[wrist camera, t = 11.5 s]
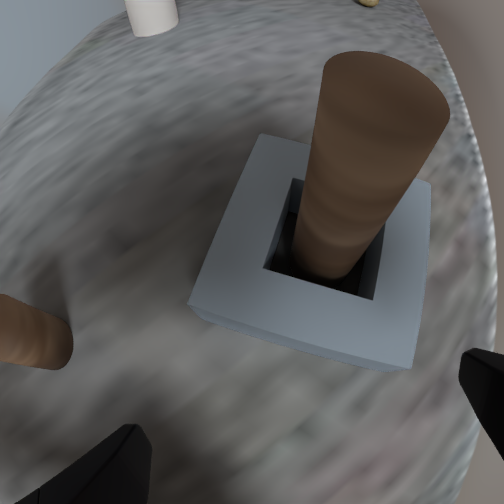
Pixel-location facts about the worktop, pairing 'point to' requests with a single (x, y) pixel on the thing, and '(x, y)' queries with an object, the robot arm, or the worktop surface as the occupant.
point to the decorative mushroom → (369, 2)
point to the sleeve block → (305, 293)
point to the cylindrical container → (151, 16)
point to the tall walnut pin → (361, 158)
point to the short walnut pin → (33, 336)
